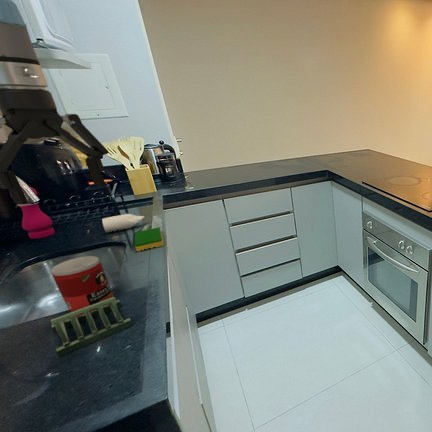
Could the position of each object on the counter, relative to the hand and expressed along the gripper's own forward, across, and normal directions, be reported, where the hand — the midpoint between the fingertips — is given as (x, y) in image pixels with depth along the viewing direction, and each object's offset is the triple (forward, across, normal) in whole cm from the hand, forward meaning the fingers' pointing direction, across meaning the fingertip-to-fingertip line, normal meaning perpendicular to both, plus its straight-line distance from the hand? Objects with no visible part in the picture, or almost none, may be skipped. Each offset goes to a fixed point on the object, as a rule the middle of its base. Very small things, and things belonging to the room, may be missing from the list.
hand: (64, 194), depth 64 cm
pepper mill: (+26, +19, +64) cm, 71 cm away
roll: (+26, +32, +40) cm, 58 cm away
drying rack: (+26, -9, -11) cm, 30 cm away
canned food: (+26, -4, -2) cm, 27 cm away
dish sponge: (+26, +26, +20) cm, 42 cm away
